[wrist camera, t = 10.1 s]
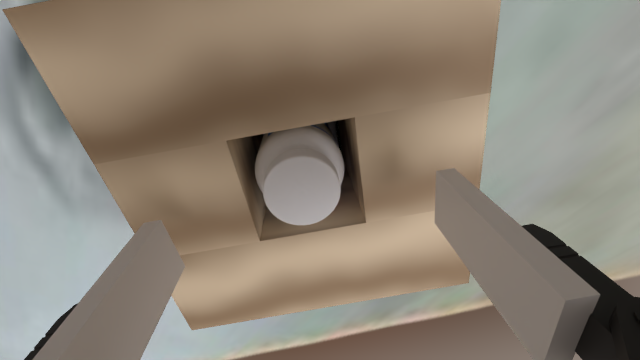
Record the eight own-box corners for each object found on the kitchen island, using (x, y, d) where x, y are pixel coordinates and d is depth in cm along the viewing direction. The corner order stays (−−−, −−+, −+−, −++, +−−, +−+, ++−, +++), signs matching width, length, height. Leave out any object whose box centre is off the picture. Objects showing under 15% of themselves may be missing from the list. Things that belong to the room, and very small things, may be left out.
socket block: (133, 20, 20) (2, 9, 11) (415, -33, 20) (511, -88, 11) (224, 240, 29) (192, 330, 20) (416, 206, 29) (468, 282, 20)
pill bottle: (307, 179, 25) (314, 253, 16) (252, 147, 23) (226, 210, 14) (344, 128, 23) (375, 179, 14) (288, 90, 21) (283, 121, 13)
